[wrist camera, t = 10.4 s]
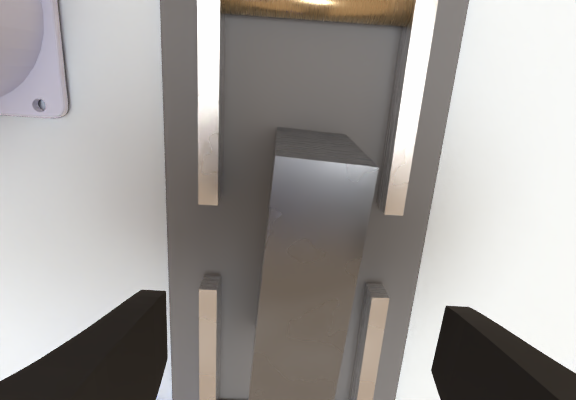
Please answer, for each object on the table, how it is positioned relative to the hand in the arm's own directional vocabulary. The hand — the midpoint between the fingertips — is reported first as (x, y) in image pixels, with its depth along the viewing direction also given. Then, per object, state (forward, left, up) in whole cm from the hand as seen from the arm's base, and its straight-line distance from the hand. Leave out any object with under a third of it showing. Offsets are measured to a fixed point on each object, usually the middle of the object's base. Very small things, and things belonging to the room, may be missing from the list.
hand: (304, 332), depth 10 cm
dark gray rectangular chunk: (0, -1, -9) cm, 9 cm away
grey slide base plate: (0, -1, -9) cm, 9 cm away
